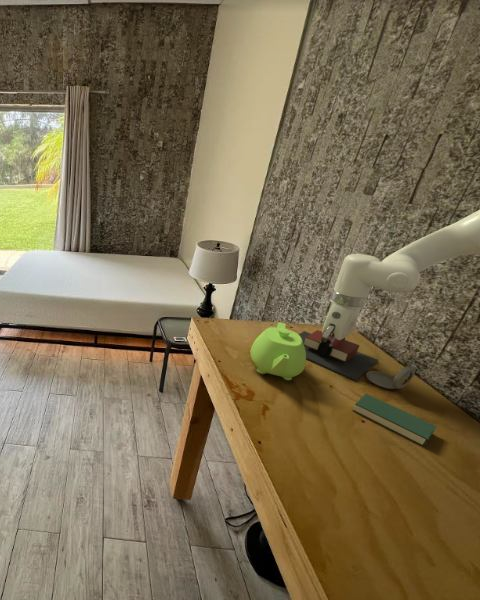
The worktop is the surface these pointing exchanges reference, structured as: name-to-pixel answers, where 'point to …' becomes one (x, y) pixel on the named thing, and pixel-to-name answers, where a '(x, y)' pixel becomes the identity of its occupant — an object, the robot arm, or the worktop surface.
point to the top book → (340, 347)
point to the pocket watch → (389, 381)
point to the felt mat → (340, 362)
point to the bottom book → (395, 419)
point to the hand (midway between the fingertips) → (328, 350)
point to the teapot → (279, 352)
